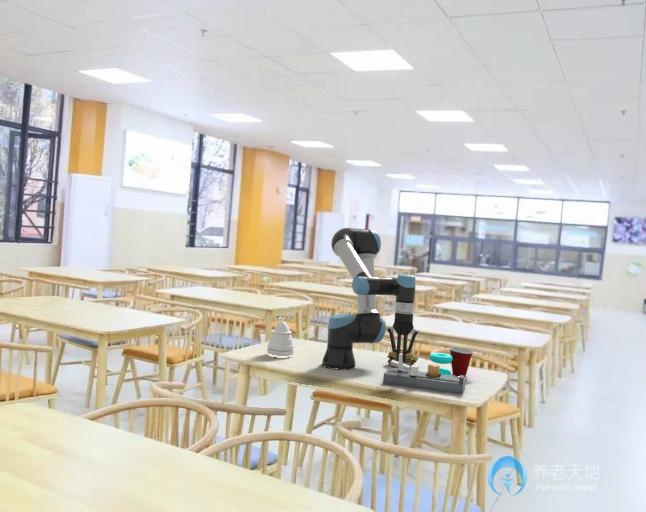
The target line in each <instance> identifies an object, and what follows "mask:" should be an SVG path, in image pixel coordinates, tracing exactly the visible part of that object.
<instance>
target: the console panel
mask: <svg viewBox="0 0 646 512" xmlns="http://www.w3.org/2000/svg"><path fill="white" fill-rule="evenodd" d="M410 373H411V369H409V371H407V370H404V369H402V370H398V368H394V367H389V368H388V369H387V370H386V371H385V372H384V373H383V378H382V384H384V385H385V384H386V385H391V384H392V385H393V386H399V387H405V388H412V389H413V388H415V389H422V390H427V391H428V390H430V391H436V392H441V393H450V394H457V395H463V394H464V391H465V388H466V382H467V377H466V376H465V377H464V376H463V375H460V377H458V376H454V375H452V374H451V375H443V374H439V377H432V376H427V373H428V371H427V372H426V371H419V370H418V374H417V376H412V375H410Z"/></svg>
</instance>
